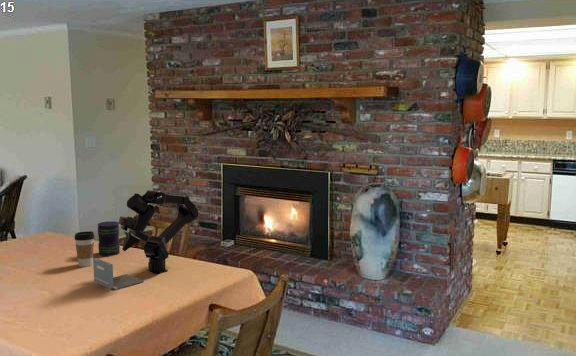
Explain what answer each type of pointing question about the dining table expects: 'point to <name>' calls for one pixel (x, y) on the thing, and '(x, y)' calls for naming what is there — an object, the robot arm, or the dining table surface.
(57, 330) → the dining table surface
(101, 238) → the storage jar
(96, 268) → the grey rectangular slab
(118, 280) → the plate
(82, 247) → the coffee cup
